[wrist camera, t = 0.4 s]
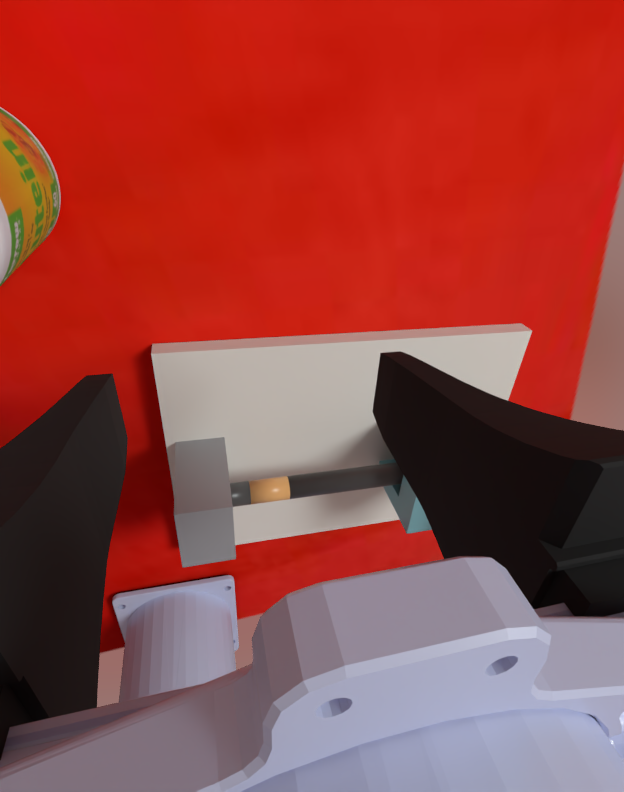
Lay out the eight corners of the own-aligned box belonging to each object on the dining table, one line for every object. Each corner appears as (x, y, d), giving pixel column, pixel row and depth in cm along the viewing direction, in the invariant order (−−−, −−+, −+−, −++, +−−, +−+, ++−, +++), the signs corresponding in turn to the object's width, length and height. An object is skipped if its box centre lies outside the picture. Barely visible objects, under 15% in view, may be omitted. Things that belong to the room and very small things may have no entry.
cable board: (463, 498, 33) (510, 567, 28) (183, 540, 29) (183, 630, 24) (521, 323, 26) (599, 377, 21) (152, 344, 21) (143, 417, 16)
